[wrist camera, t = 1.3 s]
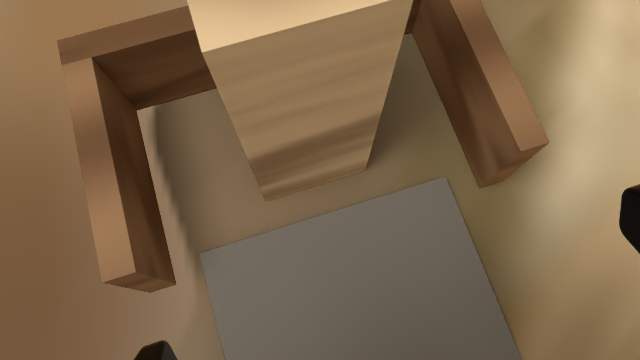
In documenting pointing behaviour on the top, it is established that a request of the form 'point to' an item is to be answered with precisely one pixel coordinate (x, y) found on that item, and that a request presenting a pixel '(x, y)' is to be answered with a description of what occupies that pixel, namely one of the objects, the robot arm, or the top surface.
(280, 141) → the ash block
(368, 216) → the slate mat
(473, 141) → the walnut crate
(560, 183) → the top surface
